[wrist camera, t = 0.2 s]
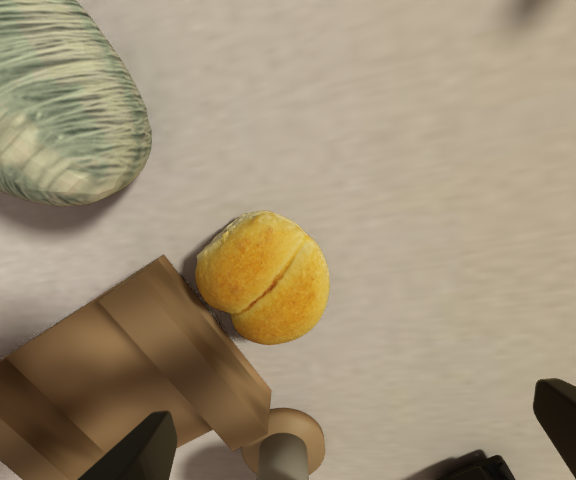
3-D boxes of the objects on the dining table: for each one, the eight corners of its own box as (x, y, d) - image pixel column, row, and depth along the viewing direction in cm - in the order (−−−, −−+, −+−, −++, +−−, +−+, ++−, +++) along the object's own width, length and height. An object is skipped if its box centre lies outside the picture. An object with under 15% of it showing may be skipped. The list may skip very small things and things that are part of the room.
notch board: (271, 390, 25) (267, 434, 21) (107, 474, 28) (78, 526, 24) (163, 254, 22) (136, 277, 18) (-10, 366, 25) (-65, 406, 21)
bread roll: (269, 347, 23) (262, 385, 19) (185, 263, 22) (160, 286, 18) (355, 283, 22) (366, 310, 18) (270, 186, 20) (261, 194, 16)
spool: (-141, 8, 16) (-514, -17, 8) (-31, -147, 14) (-369, -399, 6) (104, 191, 23) (50, 276, 15) (195, 107, 21) (189, 153, 13)
